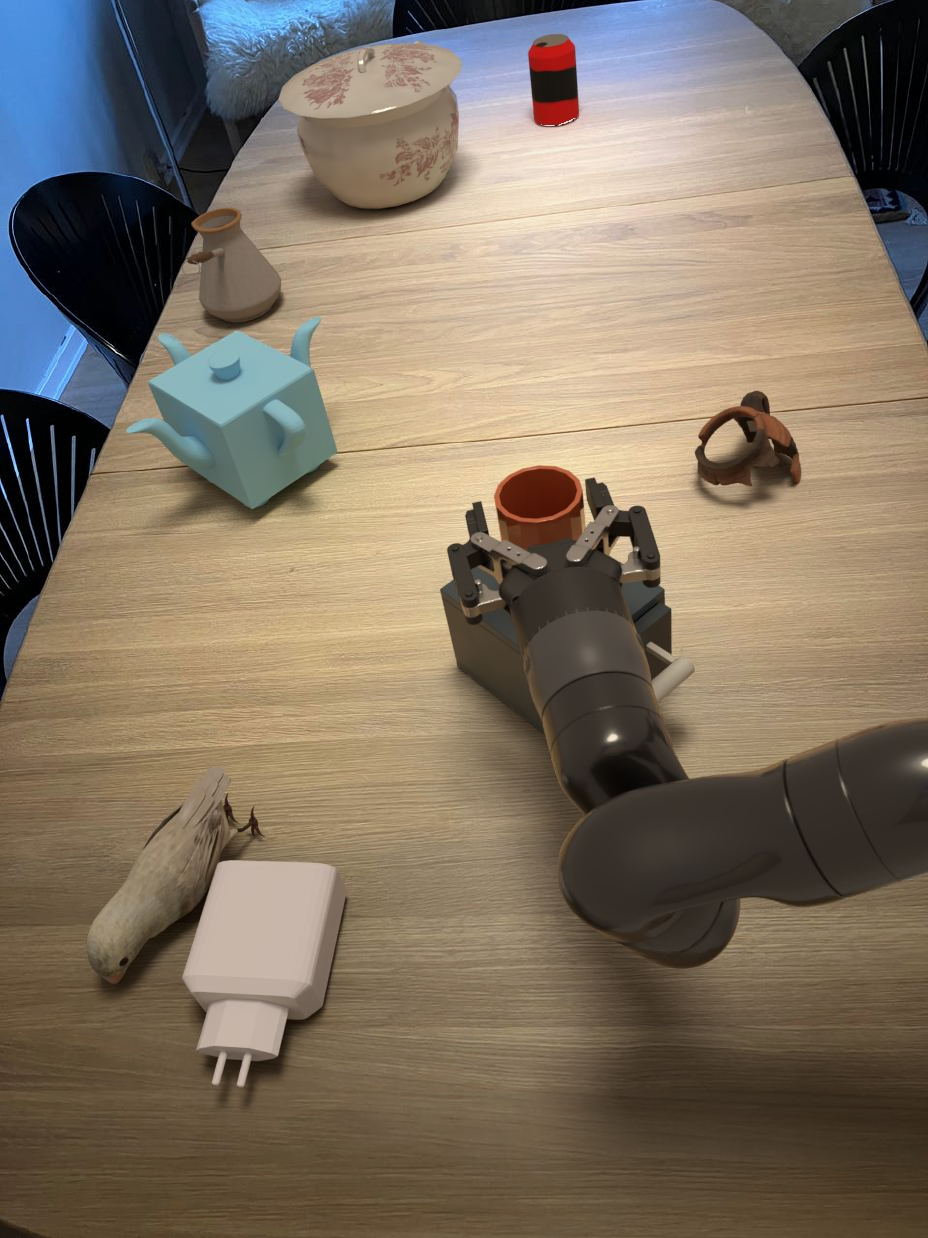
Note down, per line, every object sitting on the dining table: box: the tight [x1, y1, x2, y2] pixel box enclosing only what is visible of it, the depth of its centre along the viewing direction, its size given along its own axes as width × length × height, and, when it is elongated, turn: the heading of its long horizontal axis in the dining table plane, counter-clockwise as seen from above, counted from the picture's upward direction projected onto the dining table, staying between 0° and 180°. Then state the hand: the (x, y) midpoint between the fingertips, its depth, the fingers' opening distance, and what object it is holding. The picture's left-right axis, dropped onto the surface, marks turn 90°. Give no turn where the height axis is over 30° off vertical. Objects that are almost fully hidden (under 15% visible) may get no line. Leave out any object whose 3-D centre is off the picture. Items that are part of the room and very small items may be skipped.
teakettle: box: [125, 316, 339, 510], centre depth 111 cm, size 19×19×15 cm
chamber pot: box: [278, 40, 463, 209], centre depth 156 cm, size 28×28×21 cm
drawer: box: [634, 602, 696, 704], centre depth 84 cm, size 17×11×8 cm, turn 41°
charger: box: [181, 859, 348, 1089], centre depth 71 cm, size 5×9×15 cm
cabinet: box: [439, 555, 666, 735], centre depth 86 cm, size 14×12×10 cm
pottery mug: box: [694, 390, 802, 487], centre depth 103 cm, size 12×10×8 cm
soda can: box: [527, 33, 580, 126], centre depth 169 cm, size 8×8×12 cm
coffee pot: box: [181, 207, 282, 323], centre depth 134 cm, size 21×12×15 cm, turn 179°
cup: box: [493, 464, 587, 550], centre depth 79 cm, size 6×6×10 cm
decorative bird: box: [85, 765, 266, 985], centre depth 76 cm, size 5×16×8 cm, turn 148°
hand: (534, 498), depth 77 cm, fingers open, 8 cm apart
